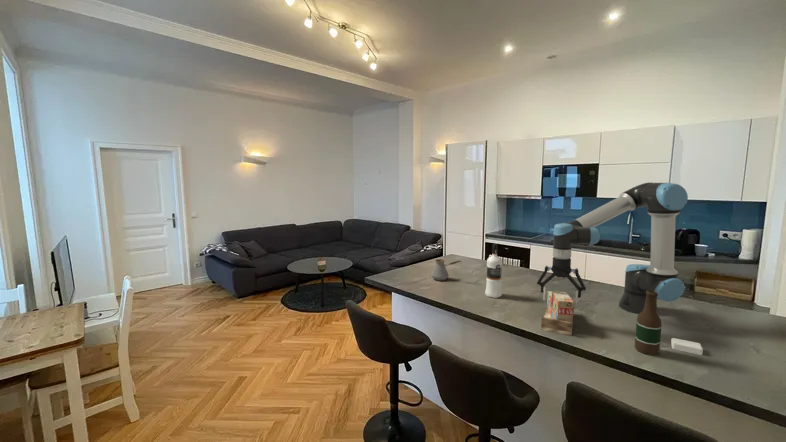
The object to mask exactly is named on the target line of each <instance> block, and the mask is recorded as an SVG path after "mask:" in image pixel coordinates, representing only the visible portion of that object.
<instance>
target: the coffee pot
mask: <svg viewBox="0 0 786 442" xmlns="http://www.w3.org/2000/svg"><path fill="white" fill-rule="evenodd" d="M434 261H435V265H434V268H433V270H432V272H431V273H430V274H431V275H430V276H431V278H432V279H433V280H435V281H437V282H442V281H443V282H444V281H446V280H447V279H448V278H449V273H448V271H447V268H446V266H449V265H453V264H454V265H455V264H458V263H460V264H463V261H461V260H457V261H456V260H455V261H453V262H450V263H447V264H445V261H446V260H445V259H441V258H440V259H435V260H434Z"/></svg>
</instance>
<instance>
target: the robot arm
mask: <svg viewBox="0 0 786 442" xmlns="http://www.w3.org/2000/svg"><path fill="white" fill-rule="evenodd" d="M688 195H689V194H688V192H687V190H686V188H684V187H683V186H682V185H681V184H679V183H672V182H643V183H641V184H638V185H635V186H633V187H632V188H630V189H627V190H625V191H623V192H622V193H621V192H620V194H619V196H618V197H617V198H614V199H612V200H610V201H608V202H606V203H604V204H603V205H600V206H599V207H597V208H595V209H593V210H591V211H590V212H587V213H586V214H584V215H582V216H580V217H578V218H576V219H573V220H572V221H570V222H562V223H556V224H554V227H553V228H554V229H553V239H552V240H553V245H552V246H553V247H552V256H553V257H552V265H551V266H549V265H545V267H544V270H543V273H542V274H541V276H540V277H539V278H538V281H537V282H536V284H537V285H538V286H540V293H542V295H543V296H542V301H546V295H547V292H546V289H547V288H546V287H547V286H546V284H547V283H549V282H550V281H551V280H552V279H553V278H554V277H557V278H563V279H565V278H567V279H568V280H569V282H571V284H572V285H573V287H574V288H575V289H576V290H575V306H578V302H579V299H580V298H581V297H582V292H583V291H586V289H587V288H586V285H585V283H584V281H583V279H582V277H581V276H580V273H579V268H578V267H577V268H571V265H572V259H571V258H572V248H573V247H572V246H573V245H594V244H595V245H596V244H598V242H599V241H600V239H601V238H600V237H601V234H600V231H599V229H598V228H596V227H599V226H600V225H602V224H603V223H606V222H608V221H610V220H612V219H614V218H615V217H617V216H619V215H621V214H624V213H626V212H627V211H634V210H636V209H639V208H647V211H646V213H647V214H648V215H649V216H650V219H651V221H650V225H651V226H650V260H649V261H650V264H642V263H641V264H639V263H635V264H634V263H633V264H631V263H630V264H627V266H626V268H625V271H624V273H625V274H624V275H625V276H624V289H623V293H622V295H621V297H620V299H619V300H618V301H619V302H618V306H619V307H620V308H621V309H622V310H623V311H624V310H625V311H626V312H630V313H635V314H638V315H639V314H640V313H641V312H642V311H643V309H644V306H645V300H646V291H654V292H657V294H658V296H657V300H659V301H662V302H663V301H664V302H667V303H669V302H670V303H671V302H674V301H677V300H678V299H679V298H680V297H682V295H683V294H684V292H685V284H684V282H683V281H682V280H681V279H679V271H678V270H677V269H675V243H676V217H677V216H678V215H679V214H680V213H681V209H684V207H685V205H687V203H688V200H689V199H688ZM549 271H552V273H551V274H549V276H547V278H546V279H544V277H545V276H546V274H547V273H548V272H549ZM571 273H572V274H574V276H575V277H576V279H577V281H578V283H577V281H576V280H575V279H574V278H573V277H572V276H571ZM543 279H544V281H543Z"/></svg>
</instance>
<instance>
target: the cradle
mask: <svg viewBox="0 0 786 442" xmlns="http://www.w3.org/2000/svg"><path fill="white" fill-rule="evenodd" d="M574 309H575V305H574V306H573V314H574V313H575V312H574V311H575V310H574ZM573 321H574V316H573V317H572V322H568V321H562V320H557V319H553V318H552V317H551V315H550V313H549V311H548V309H547V308H546V309H545V314H544V315H543V316H542V317H541V326H540V330H541V331H545V332H551V333H556V334H560V335H566V336H571V337H572V333H573V324H574V322H573Z"/></svg>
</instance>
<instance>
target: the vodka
mask: <svg viewBox="0 0 786 442" xmlns="http://www.w3.org/2000/svg"><path fill="white" fill-rule="evenodd" d="M491 252H492V254H491V256H489V257H487V259H486V284H485V285H486V286H485V291H484V294H485V296H487V297H488V298H493V299H497V298H501V297H502V296H503V291H502V279H503V278H502V268H503V260H502V258H500V257H499V256H498V244H494V243H493V244H492V251H491Z"/></svg>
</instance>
